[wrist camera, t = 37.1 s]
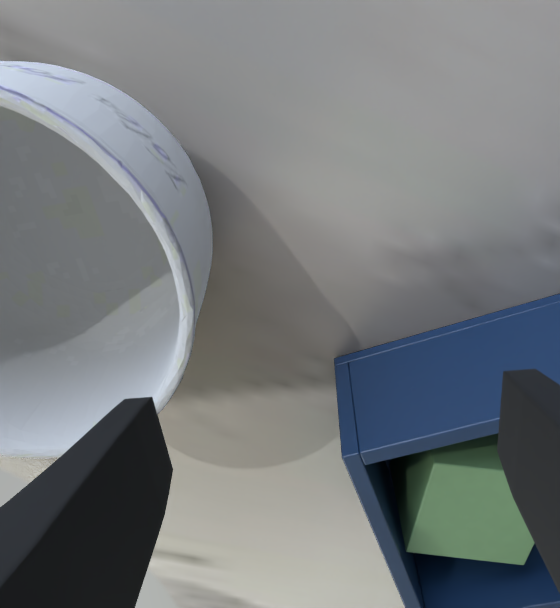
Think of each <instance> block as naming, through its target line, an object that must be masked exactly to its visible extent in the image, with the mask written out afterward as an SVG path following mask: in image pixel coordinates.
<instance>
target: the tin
mask: <svg viewBox="0 0 560 608" xmlns="http://www.w3.org/2000/svg"><path fill="white" fill-rule="evenodd" d="M334 365H335V378H336V390H337V403H338V415H339V428H340V440H341V452H342V459H343V461H344V464H345V466H346V469H347V471H348V473H349V476H350V478H351V480H352V483H353V485H354V488H355V490H356V492H357V495H358V497H359V499H360V502H361V504H362V506H363V509H364V511H365V514H366V516H367V518H368V521H369V523H370V525H371V528H372V530H373V533H374V535H375V537H376V540H377V542H378V544H379V547H380V549H381V552H382V554H383V556H384V559H385V561H386V563H387V566H388V568H389V571H390V573H391V575H392V578H393V580H394V582H395V585H396V587H397V590H398V592H399V594H400V597H401V599H402V601H403V604H404V606H405V608H560V594H559V592H558V590H557V587H556V585H555V583H554V581H553V579H552V577H551V575H550V573H549V571H548V569H547V567H546V565H545V563H544V561H543V559H542V557H541V555H540V553H539V551H538V549H537V547H536V545H535V543H534V545H533V547H532V549H531V551H530V554H529V556H528V558H527V560H526V562H525V564H524V565H517V564H508V563H499V562H490V561H481V560H473V559H464V558H455V557H446V556H438V555H429V554H420V553H411V552H406V549H405V544H404V538H403V533H402V528H401V523H400V517H399V512H398V507H397V502H396V496H395V491H394V486H393V481H392V476H391V470H390V462H391V459H394V458H398V457H402V456H406V455H410V454H414V453H418V452H423V451H427V450H431V449H435V448H439V447H443V446H447V445H452V444H456V443H460V442H464V441H468V440H472V439H476V438H481V437H485V436H489V435H493V434H497V433H498V431H499V418H500V406H501V393H502V380H503V371H510V370H524V369H537V370H538V371H540V372H541V373H543V374H544V375H546V376H547V377H549V378H550V379H552V380H553V381H555V382H556V383H558V384H559V385H560V294H557V295H553V296H550V297H546V298H543V299H539V300H536V301H532V302H529V303H526V304H522V305H519V306H515V307H512V308H508V309H505V310H501V311H498V312H494V313H491V314H487V315H484V316H480V317H477V318H473V319H470V320H466V321H463V322H459V323H456V324H452V325H449V326H445V327H442V328H438V329H435V330H432V331H428V332H425V333H421V334H418V335H414V336H411V337H407V338H404V339H400V340H397V341H393V342H390V343H386V344H383V345H379V346H376V347H372V348H369V349H365V350H362V351H358V352H355V353H351V354H348V355H344V356H341V357H337V358H335V359H334Z"/></svg>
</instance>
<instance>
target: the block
mask: <svg viewBox="0 0 560 608" xmlns="http://www.w3.org/2000/svg"><path fill="white" fill-rule="evenodd" d="M497 444H498V433H497V434H493V435H489V436H485V437H481V438H476V439H472V440H468V441H464V442H460V443H456V444H452V445H447V446H443V447H439V448H435V449H431V450H427V451H423V452H418V453H414V454H410V455H406V456H402V457H398V458H394V459H391V462H390V470H391V476H392V481H393V486H394V491H395V496H396V502H397V507H398V512H399V517H400V523H401V528H402V533H403V538H404V544H405V549H406V552H411V553H420V554H429V555H438V556H446V557H455V558H464V559H473V560H481V561H490V562H499V563H508V564H517V565H524V564H525V562H526V560H527V558H528V556H529V554H530V551H531V549H532V547H533V545H534V543H535V542H534V540H533V538H532V536H531V534H530V532H529V530H528V528H527V526H526V524H525V522H524V520H523V518H522V516H521V513H520V511H519V509H518V507H517V505H516V503H515V501H514V499H513V496H512V494H511V491H510V488H509V485H508V482H507V479H506V476H505V473H504V470H503V467H502V464H501V461H500V458H499V455H498V452H497Z"/></svg>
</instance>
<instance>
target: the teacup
mask: <svg viewBox="0 0 560 608" xmlns="http://www.w3.org/2000/svg"><path fill="white" fill-rule="evenodd" d="M212 253H213V233H212V223H211V216H210V210H209V206H208V202H207V199H206V195H205V192H204V190H203V187H202V184H201V181H200V179H199V177H198V175H197V173H196V171H195V169H194V167H193V165H192V163H191V161H190V159H189V157H188V156H187V154H186V153H185V151H184V149H183V148H182V147H181V145H180V144H179V142H178V141H177V140H176V139H175V137H174V136H173V135H172V134H171V133H170V132H169V130H168V129H167V128H166V127H165V126H164V125H163V124H162V123H161V121H160V120H158V119H157V118H156V117H155V116H154V115H153V114H152V113H150V112H149V111H148V110H147V109H146V108H145V107H143V106H142V105H141V104H140V103H139V102H137V101H136V100H134V99H133V98H131V97H130V96H128V95H127V94H125V93H124V92H122V91H121V90H119V89H117V88H115V87H113V86H111V85H110V84H108V83H106V82H104V81H101V80H99V79H97V78H94V77H92V76H89V75H87V74H85V73H81V72H78V71H75V70H71V69H68V68H64V67H61V66H56V65H50V64H44V63H36V62H23V61H0V456H7V457H14V458H50V459H51V458H59V457H61V456H62V455H63V454H64V453H65V452H66V451H67V450H68V449H70V448H71V447H72V446H73V445H74V444H75V443H76V442H77V441H78V440H79V439H81V438H82V437H83V436H84V435H85V434H86V433H87V432H88V431H89V430H90V429H91V428H92V427H94V426H95V425H96V424H97V423H98V422H99V421H100V420H101V419H102V418H103V417H104V416H105V415H107V414H108V413H109V412H110V411H111V410H112V409H113V408H114V407H115V406H117V405H118V404H119V403H120V402H121V401H123V400H124V399H129V398H143V397H152V398H153V401H154V405H155V408H156V412H157V414H158V413H159V412H160V411H161V410H162V409H163V408H164V407H165V405H166V404H167V403H168V401H169V400H170V398H171V397H172V395H173V394H174V392H175V390H176V389H177V387H178V385H179V384H180V382H181V380H182V378H183V374H184V371H185V369H186V367H187V364H188V362H189V359H190V356H191V352H192V347H193V342H194V336H195V326H196V323H197V320H198V317H199V313H200V310H201V306H202V303H203V299H204V296H205V292H206V288H207V283H208V279H209V274H210V268H211V262H212Z"/></svg>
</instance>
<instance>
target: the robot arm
mask: <svg viewBox="0 0 560 608" xmlns="http://www.w3.org/2000/svg"><path fill="white" fill-rule="evenodd" d="M497 452H498V455H499V458H500V461H501V464H502V467H503V470H504V473H505V476H506V479H507V482H508V485H509V488H510V491H511V494H512V496H513V499H514V501H515V503H516V505H517V507H518V509H519V511H520V513H521V516H522V518H523V520H524V522H525V524H526V526H527V528H528V530H529V532H530V534H531V536H532V538H533V540H534V542H535V545H536V547H537V549H538V551H539V553H540V555H541V557H542V559H543V561H544V563H545V565H546V567H547V569H548V571H549V573H550V575H551V577H552V579H553V581H554V583H555V585H556V587H557V590H558V592H559V594H560V385H559V384H558V383H556V382H555V381H553V380H552V379H550V378H549V377H547V376H546V375H544V374H543V373H541V372H540V371H538V370H537V369H524V370H510V371H503V380H502V393H501V406H500V418H499V431H498V444H497ZM172 472H173V468H172V464H171V461H170V457H169V454H168V450H167V447H166V443H165V440H164V436H163V433H162V429H161V426H160V422H159V419H158V415H157V412H156V408H155V405H154V401H153V398H152V397H143V398H129V399H124V400H123V401H121V402H120V403H119V404H118V405H117V406H115V407H114V408H113V409H112V410H111V411H110V412H109V413H108V414H107V415H105V416H104V417H103V418H102V419H101V420H100V421H99V422H98V423H97V424H96V425H95V426H94V427H92V428H91V429H90V430H89V431H88V432H87V433H86V434H85V435H84V436H83V437H82V438H81V439H79V440H78V441H77V442H76V443H75V444H74V445H73V446H72V447H71V448H70V449H68V450H67V451H66V452H65V453H64V454H63V455H62V456H61V457H60V458H59V459H57V460H56V461H55V462H54V463H53V464H52V465H51V466H50V467H48V468H47V469H46V470H45V471H44V472H42V473H41V474H40V475H39V476H38V477H36V478H35V479H34V480H33V481H32V482H31V483H29V484H28V485H27V486H26V487H25V488H23V489H22V490H21V491H20V492H19V493H17V494H16V495H15V496H14V497H13V498H12V499H10V500H9V501H8V502H7V503H5V504H4V505H3V506H2V507H0V608H135V605H136V602H137V599H138V596H139V592H140V589H141V587H142V584H143V580H144V577H145V574H146V571H147V568H148V565H149V562H150V559H151V556H152V553H153V550H154V547H155V544H156V540H157V537H158V534H159V531H160V528H161V525H162V521H163V518H164V515H165V510H166V505H167V500H168V495H169V490H170V484H171V478H172Z"/></svg>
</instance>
